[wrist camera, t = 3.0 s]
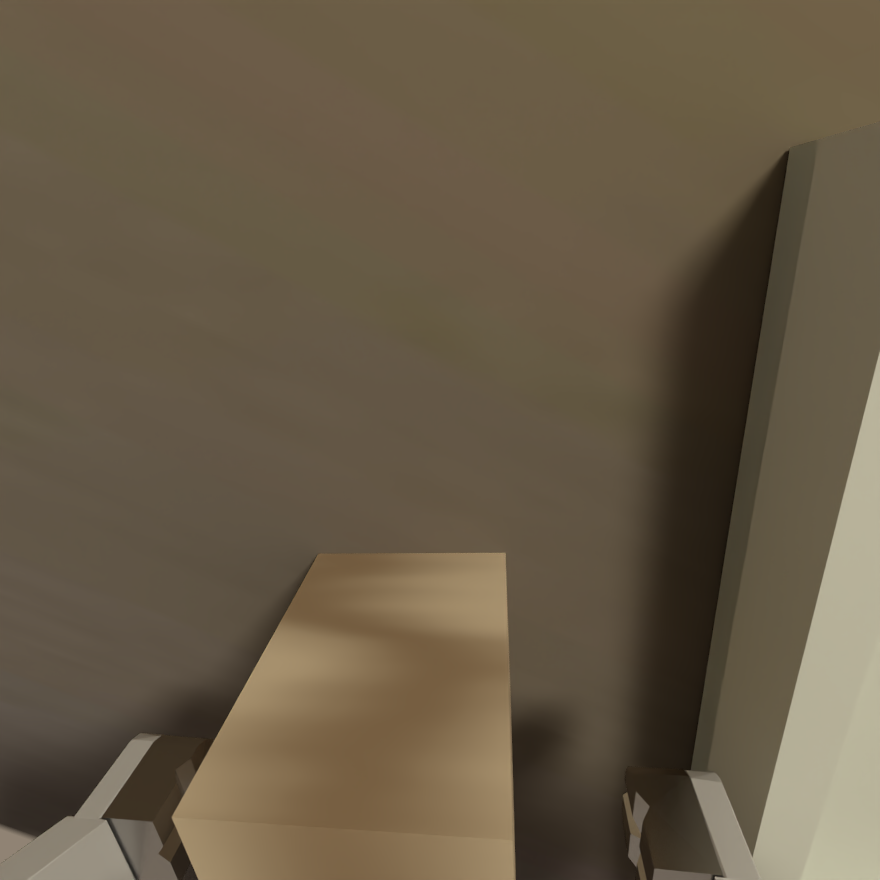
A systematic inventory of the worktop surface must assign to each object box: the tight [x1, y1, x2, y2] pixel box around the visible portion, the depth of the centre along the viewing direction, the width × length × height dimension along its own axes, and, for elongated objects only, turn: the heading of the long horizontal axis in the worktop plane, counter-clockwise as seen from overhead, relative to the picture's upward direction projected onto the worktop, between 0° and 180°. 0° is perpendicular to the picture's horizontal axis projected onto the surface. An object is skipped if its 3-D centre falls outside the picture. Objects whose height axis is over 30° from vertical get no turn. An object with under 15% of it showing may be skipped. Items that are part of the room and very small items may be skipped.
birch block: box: [172, 553, 516, 880], centre depth 10 cm, size 4×4×6 cm
